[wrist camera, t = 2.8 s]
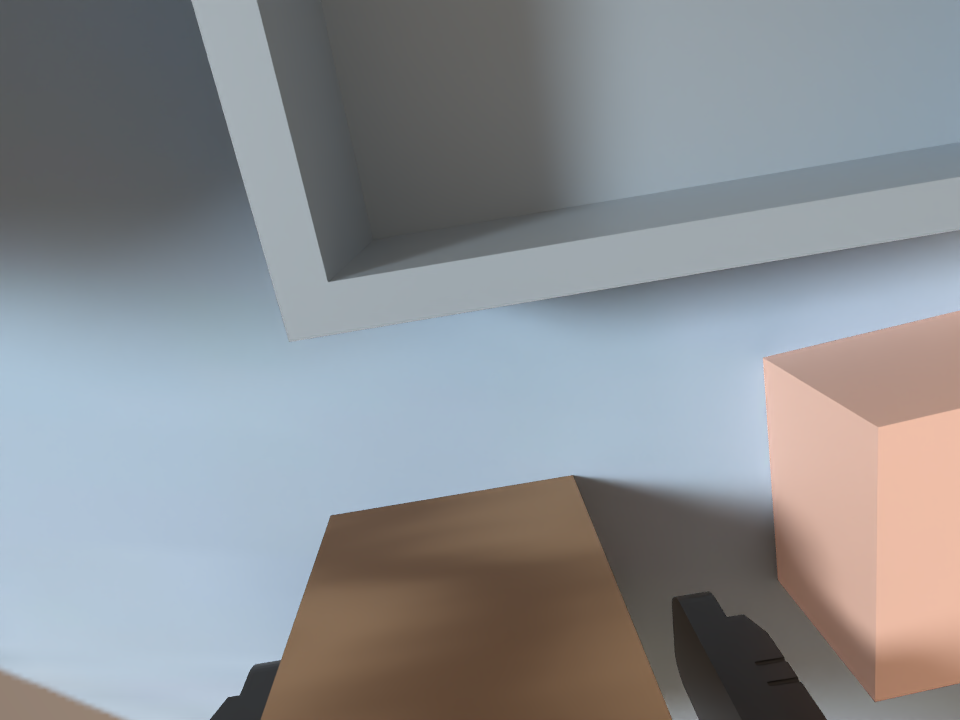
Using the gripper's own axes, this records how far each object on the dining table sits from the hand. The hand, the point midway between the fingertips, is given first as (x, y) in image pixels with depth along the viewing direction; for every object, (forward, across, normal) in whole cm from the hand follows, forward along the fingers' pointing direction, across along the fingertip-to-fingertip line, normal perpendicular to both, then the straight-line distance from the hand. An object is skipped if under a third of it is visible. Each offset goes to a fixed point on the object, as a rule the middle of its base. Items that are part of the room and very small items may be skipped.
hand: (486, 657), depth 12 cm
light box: (+2, -9, -2) cm, 10 cm away
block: (+2, 0, 0) cm, 2 cm away
